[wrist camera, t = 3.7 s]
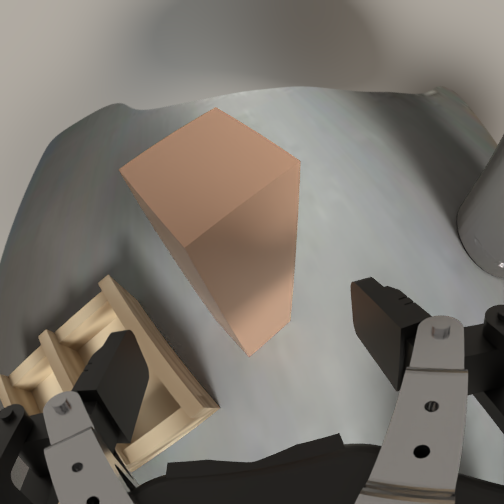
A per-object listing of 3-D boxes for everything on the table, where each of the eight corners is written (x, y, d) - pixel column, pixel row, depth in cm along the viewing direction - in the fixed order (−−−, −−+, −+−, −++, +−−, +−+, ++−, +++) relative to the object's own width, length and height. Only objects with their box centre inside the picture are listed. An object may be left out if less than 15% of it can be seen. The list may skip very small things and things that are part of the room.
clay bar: (254, 284, 24) (215, 107, 10) (290, 320, 23) (300, 161, 9) (214, 318, 23) (118, 169, 9) (249, 357, 22) (184, 247, 8)
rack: (136, 299, 24) (108, 274, 20) (220, 407, 20) (203, 407, 16) (31, 389, 21) (-6, 380, 16) (92, 496, 16) (56, 506, 12)
